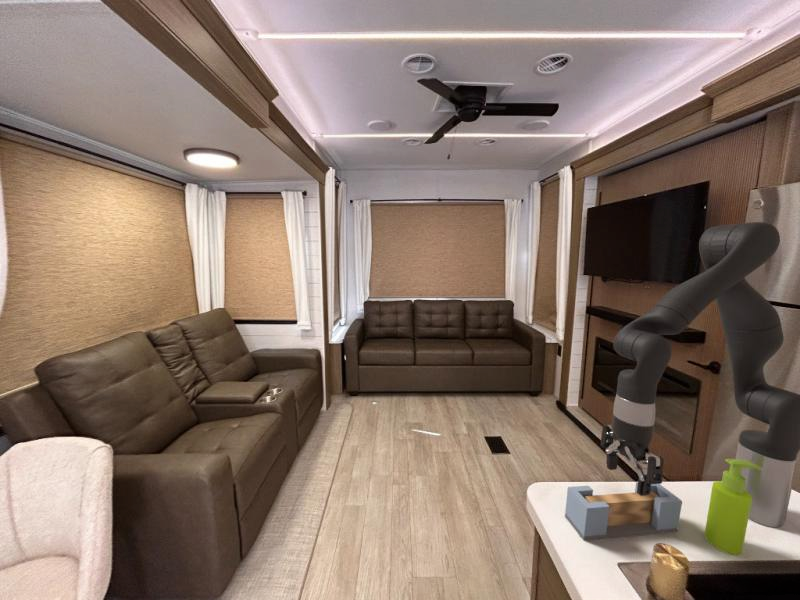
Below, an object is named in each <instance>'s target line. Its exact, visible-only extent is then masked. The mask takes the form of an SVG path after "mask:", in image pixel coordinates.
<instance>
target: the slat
mask: <svg viewBox="0 0 800 600" xmlns="http://www.w3.org/2000/svg"><path fill="white" fill-rule="evenodd" d="M655 497H659V496H658V495H656V494H655V493H654V492H653V491H650V494H649V495H645V496H640V495H639V494H638V493H637V492H635V491H634V492H626V493H625V492H623V493H621V492H620V493H610V494H609V493H608V494H593V496H585V499H586V501H587V502H588V503H589V502H603V501H605V502H606V503H607V504H608V505H609V506H610V507H609V516H608V524H607V526H615V525H627V524H639V523H650V522H652V515H653V508H654V500H655Z"/></svg>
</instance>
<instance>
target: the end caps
mask: <svg viewBox="0 0 800 600" xmlns="http://www.w3.org/2000/svg"><path fill="white" fill-rule="evenodd" d="M637 486H638V481H636V482H635V489H634V493H635V492H637ZM650 491H653V492H654V493H655V494H656V495H658V496H659V497H655V500H654V508H653V515H652V522H650V523H639V524H627V525H615V526H607V524H608V516H609V507H610V506H609V505H608V504H607V503H606V502H605V501H603V502H589V503H588V502H587V501H586V499H585V496H593V495H594V490H593V488H591V486H590V485H576V486H568V487H567V493H566V502H565V512H564V518H565V519H566V521H568V522H569V524H570V525H571V526H572V527H573V529H574V530H575V531H576V533H577V535H579V537H580V538H581V539H582V540H583V541H592V540H603V539H612V538H622V537H623V538H624V537H634V536H637V537H638V536H646V535H647V536H648V535H657V534H667V533H677V532H678V531H679V525H680V519H681V517H680V516H681V512H682V511H681V510H682V504H683V500H682V499H681V498H679V497H678V496H677V495H675V494H674V493H673V492H671V491H670V490H668V489H667V488H666V487H664V486H663V485H662V484H651V490H650Z"/></svg>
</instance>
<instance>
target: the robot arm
mask: <svg viewBox="0 0 800 600" xmlns="http://www.w3.org/2000/svg"><path fill="white" fill-rule="evenodd" d="M780 241H781V236H780V232H779V230H778V229H777V227H776V226H774V225H773V224H772V223H770V222H764V221H756V222H755V221H754V222H753V221H752V222H741V223H730V224H723V225H716V226H712V227H711V226H710V227H709V228H707V229H706V230H705V231H704V232H703V233H702V235H701V236H700V238H699V242H698V251H699V252H698V253H699V256H700V260H701V262H702V265H703V267H704V270H705V271H703V272H702V273H699V274H697V275H696V276H693V277H692V278H690V279H687V280H685V281H684V282H682V283H680V284H678V285H677V286H674V287H673V288H672V289H670V290H669V291H668V292H667V293H665V295H664V296H662V298H660V299H659V301H658V302H656V304H654V306H653V307H652V308H651V309H650V310H649V311H647V312H646V313H645V314H643V315H641V316H639V317H638V318H636V319H634V320H633V321H631V322H629V323H627V324H626V325H625V326H624V327H622V328H621V329H620V330H619V331H618V332H617V333H616V335H615V337H614V339H613V344H612V345H613V350H614V351H615V353H617V355H619V356H620V357H622V358H624V359H627V360H630V361H633V362H637V364H636V367H635V368H634V369H632V368H631V369H630V368H629V369H623V370H620V372H619V374H618V376H617V385H616V395H615V398H614V402H613V413H612V423H611V424H606V425H603V426H602V429H601V430H602V431H601V435H600V437H601V438H600V445H599V446H600V447H602V448H604V449H605V453H606V461H605V463H606V468H607V469H608V470H609V471H615V470H617V468H618V461H619V455H618V454H620V455H622V456H623V457H625V459H627V460H628V461H629V462H630V463H631V466H632V468H633V469H634V470H636V472H637V476H638V480H637V482H638V486H637V493H638V494H639V495H640V496H645V495H649V494H650V490H651V484H660V485H662V484H663V476H664V472H663V471H664V457H663V456H661V455H655V454H653V453H651V451H650V447H649V446H650V444H651V443H652V441H653V439H654V435H653V434H654V427H655V420H656V419H655V418H656V398H657V389H658V384H659V382H660V380H661V378H662V376H663V374H664V372H665V370H666V368H667V367H668V364H669V363H670V361H671V359H672V346H671V343H670V342H669V340H668V339H667V338H665V336H671V335H672V336H675V335H679V334H681V333H682V332H683V331H685V330H686V329H687V328H688V326H690V324H691V323H692V322H693V321H694V320H695V319H696V318H697V317H698V316H699V315H700V314H701V313H702V312H703V311H704V310H705V309H706V308H707V307H708V306H710V304H712V302H714V301H716V305H717V307H718V312H719V317H720V322H721V327H722V332H723V335H724V339H725V342H726V345H727V349H728V350H727V351H728V353H729V354H728V355H729V359H730V364H731V365H730V366H731V370H732V383H733V394H734V401H735V404H736V406H737V408H738V410H739V411H740V413H742V414H744V415H745V416H748V418H752V419H754V420H757V421H760V422H762V423H764V424H766V425H769V428H768V429H767V431H762V430H757V429H756V430H755V429H746V430H742V431H740V433H739V437H738V442H737V448H736V455H735V459H739V460H745V461H749V462H752V463H754V464H756V465H757V466H759V467H760V468H762V470H757V469H753V468H746V467H742V470H741V476H743V477H744V478H745V479H746V483H745V488H744V490H745V491H746V492H748V493H749V494H750V495H751V497H752V501H751V507H750V512H749V518H748V520H750V521H752V522H755V523H757V524H761V525H763V526H767V527H771V528H781V527H783V525H784V522H785V521H786V519H787V514H788V509H789V506H790V505H789V504H790V499H791V494H792V489H793V487H792V482H793V477H794V476H793V475H794V471H795V467H796V461H797V456H798V454H799V452H800V394H799V393H797V392H793V391H790V390H787V389H784V388H780V387H777V386H774V385H770V384H769V383H768V382H767V381H766V378H765V375H764V372H765V371H764V366H765V365H766V364H767V363H768V361H770V359H772V357H773V356H775V354H776V353H777V352H779V350H780V349H781V347H782V345H783V344H784V338H785V337H784V331H783V328H782V321H781V318H780V315H779V313H778V311H777V309H776V308H775V307H774V306H773V305H772V304H771V303H770V302H769V301H768V300H767V299H766V298H765V297H764V296H763V295H762V294H761V293H760V292H758V291H757V290H756V289H755V288H754V287H753V286H752V285H751V284H750V283H749V282H748V281H747V279H746V277H747V276H749V275H750V274H752V272H754V271H756V270H757V269H759V268H760V267H761V266H763V265H764V264H765V263H766V262H768V260H770V258H772V257H773V255H775V254H776V253H777V250H778V248H779V246H780V243H781V242H780ZM639 462H642V464H640V463H639ZM643 470H644V471H643Z"/></svg>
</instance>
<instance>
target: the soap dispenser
mask: <svg viewBox="0 0 800 600" xmlns="http://www.w3.org/2000/svg"><path fill="white" fill-rule="evenodd" d="M725 463H727V464H729V469H728V470H723V472H722V477H721V480H715V481H713V483H712V486H711V493H710V500H709V506H708V511H707V512H708V513H707V515H706V516H707V517H706V524H705V529H704V537H705V539H706V541H708V542H709V543H710V545H712V546H713V547H715V548H717V549H718V550H720V551H721V552H724V553H727V554H729V555H733V556H741V555H742V554H743V550H744V549H743V548H744V544H745V539H746V538H745V537H746V533H747V528H748V522H749V519H748V518H749V512H750V507H751V501H752V497H751V495H750V494H749V493H748V492H746V491H745V490H744V488H745V483H746V479H745V478H744V477H743V476H741V470H742V467H746V468H753V469H757V470H762V468H760V467H759V466H757V465H756V464H754V463H752V462H749V461H745V460H739V459H736V458H725Z"/></svg>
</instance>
